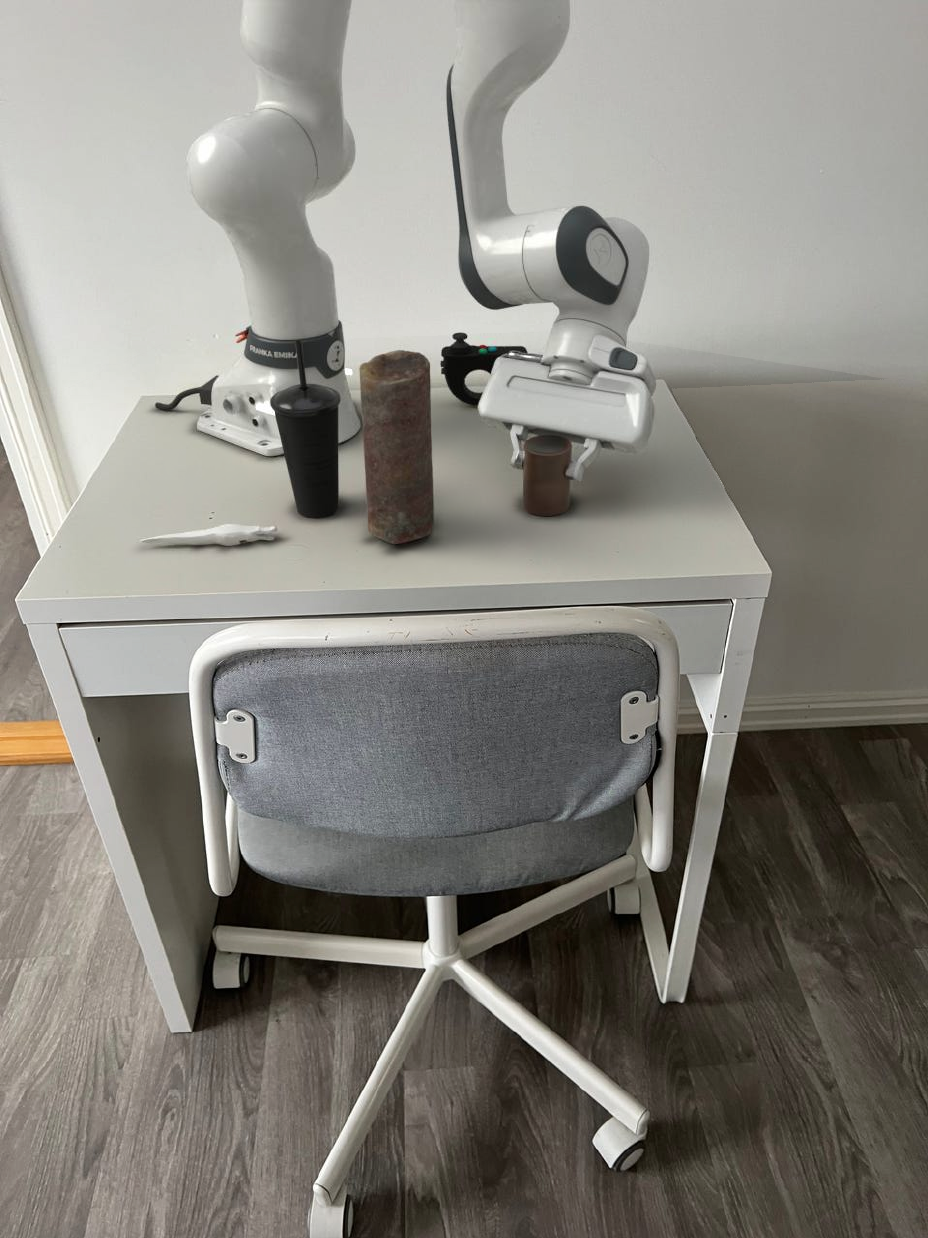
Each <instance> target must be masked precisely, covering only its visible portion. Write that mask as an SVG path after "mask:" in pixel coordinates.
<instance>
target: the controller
mask: <svg viewBox="0 0 928 1238" xmlns="http://www.w3.org/2000/svg"><path fill="white" fill-rule="evenodd" d="M452 339H453V340H455V341H454V342H453V343H452V344H450V345H445V346H444V347H442V348H441V351H440V355H441V357H442V360H440V363H439V364H440V365H439V367H440V368H441V369H440V374H441V375H444V379H445V383H446V385H447V387H448V389H449V391H450V392H451V394H452V395H453V396H454V397H455V398H456V399H457V400H459V401H460V402H462V403H463V404H466V405H469V406H473V407H478V404H479V401H480V399H481V396H482V394H483V392H484V391H481V392H476V391H473V390H471V389H470V388H468V386H467V385H466V378H467V376H468V375H469V374H470V373H472V372H474V371H475V372H476V371H484V372H486V373H488V374H489V375H491V372H492V369H493V366H494V363H495V361H496V359H497V358H498V357H500V356H501V355H503V354H507V353H509V352H510V351H519V352H521V353H529V352H528V349H527V348H526V347H525V346H523V345H486V344H480V345H473V344H472V345H471V344H469V343H467V342H466V341H465V340H467V339H468V334H467V333H465V332H455V333H453V334H452ZM505 358H508V357H505Z"/></svg>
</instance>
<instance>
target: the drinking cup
mask: <svg viewBox="0 0 928 1238" xmlns="http://www.w3.org/2000/svg"><path fill="white" fill-rule="evenodd" d="M295 345H296V353H297V361H298V370H299V378H300V384H299V385H294V386H291V387H289V388H286V389H284V390H282V391H279V392H277V393H276V394H274V395H273V396H272V397H271V399H270V406H271V408H272V410H273V411H274V413H275V417H276V422H277V426H278V430H279V434H280V439H281V443H282V447H283V451H284V454H283V456H284V459H285V460H284V461H285V463H286V469H287V472H288V477H289V481H290V485H291V489H292V494H293V497H294V501H295V506H296V510H297V513H298V514H299V515H300V516H302V517H303V518H307V519H322V518H326V517H330V516H332V515H334V514H335V513H337V512H338V510H339V506H340V505H339V503H340V501H339V500H340V499H339V498H340V497H339V491H340V489H339V486H340V485H339V481H340V479H339V478H340V477H339V476H340V475H339V473H340V472H339V469H340V468H339V463H340V462H339V444H338V405H339V404H340V401H341V398H340V394H339V393H338V392H337V391H336V390H334V389H332V388H329V387H326V386H321V385H317V384H307V383H306V375H305V366H304V358H303V349H302V341H301V340H296V341H295Z"/></svg>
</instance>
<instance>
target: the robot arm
mask: <svg viewBox="0 0 928 1238" xmlns="http://www.w3.org/2000/svg"><path fill="white" fill-rule="evenodd" d="M352 1H353V0H242V5H241V15H240V24H239V26H240V27H239V39H240V43H241V46H242V48H243V51H244V52H245V54H246V55H247V56H248V57H249V58H250V60H251V61H252V62H253V66H254V67H253V68H254V70H255V71H254V72H255V78H256V87H257V88H256V89H257V99H256V104H255V106H254V109H253V110H252V111H250V112H246V113H242V114H239V115H234V116H231V117H228V118H224V119H222V120H220V121H218V122H217V123H216V124H214V125H212V126H211V127H210V128H208V129H207V130H205V132H203V133H202V134H201V135H200V136H198V137H197V138H196V139H195V140H194V141H193V143H192V144H191V146H190V147H189V150H188V153H187V156H186V161H185V175H186V180H187V184H188V188H189V191H190V193H191V195H192V197H193V199H194V201H195V202H196V204H197V205H198V207H199V208H200V210H202V211H203V212H204V213H205V215H207V216H208V217H209V218H210V219H212V220H214V221H215V222H216V223H217V224H218V225H219V226H220V227H221V228H222V229H223V231H224V233H225V235H226V236H227V238H228V240H229V242H230V244H231V247H232V248H233V251H234V252H235V255H236V257H237V260H238V263H239V266H240V269H241V274H242V278H243V283H244V289H245V294H246V301H247V307H248V313H249V320H250V324H249V326H246V327H245V329H244V330H242V331H240V332H238V333H237V334H235V337H238V338H237V339H236V340H235V343H236V344H239V343H241V342H244V341H245V340H246V341H245V346H244V350H243V354H242V355H240V357H238V358H237V359H236V360H235V361H234V362H233V363H232V364H231V365H229V366H228V367H227V368H226V369H225V370H224V371H222V372H221V373H220V374H218V375H215V376H213V377H212V378H211V379H209V380H208V381H207V382H205V383H204V384H202V385H201V386H198V387H193V388H189V389H186V390H183V391H181V392H179V393H178V394H177V395H176V396H175V398H174V399H173V400H172V401H171V402H170V403H169V404H167V403H162V402H155V404H154V407H155V409H157V410H158V409H159V410H162V411H171V410H174V409H175V408H177V407H178V405H179V404H180V403H181V401H182V400H184V399H186V398H187V397H189V396H193V395H196V394H198V395H199V401H200V405H204V406H205V405H207V406H211V407H210V408H208V409H206V410H205V411H204V412H203V413H202V414H201V415H200V416H199V417H198V419H197V421H196V427H197V430H198V431H200V432H202V433H204V434H207V435H210V436H212V437H215V438H218V439H220V440H222V441H226V442H228V443H229V444H230V443H231V444H233V445H236V446H237V447H238V446H239V447H241V448H244V449H247V450H249V451H251V452H254V453H257V454H259V455H262V456H264V457H265V456H266V457H274V456H275V457H276V456H280V455H284V451H283V447H282V443H281V439H280V434H279V430H278V426H277V422H276V417H275V413H274V411H273V410H272V408H271V406H270V399H271V397H272V396H273V395H274V394H276V393H277V392H279V391H282V390H284V389H286V388H289V387H291V386H294V385H299V384H300V378H299V370H298V361H297V353H296V345H295V341H296V340H301V341H302V349H303V358H304V366H305V375H306V383H307V384H317V385H321V386H326V387H329V388H332V389H334V390H336V391H337V392H338V393H339V394H340V398H341V401H340V404H339V405H338V445H339V444H341V443H344V442H345V441H347V440H349V439H351V438H353V437H354V436H355V435H356V434H357V433H358V432H359V430H360V428H361V426H362V425H361V424H362V423H361V420H360V418H359V416H358V413H357V411H356V408H355V405H354V401H353V398H352V395H351V394H352V393H351V391H350V387H349V383H348V379H347V376H348V375H350V376H352V375H353V369H351V368H346V367H345V363H346V348H345V347H346V345H345V336H344V329H343V323H342V321H341V319H339V312H338V311H339V310H338V301H337V300H338V299H337V290H336V289H337V288H336V280H335V268H334V263H333V260H332V259H331V257H330V255H329V254H328V253H327V252H326V251H325V250H324V249H322V248H321V247H319V246H318V245H317V243H316V241H315V239H314V237H313V234H312V231H311V229H310V225H309V223H308V218H307V213H306V208H307V207H306V205H308V204H310V203H313V202H315V201H317V200H320V199H322V198H325V197H326V196H328V195H330V194H331V193H332V192H333V191H334V190H336V188H337V187H339V186H340V184H341V183H342V182H343V181H344V180H345V179H346V178H347V177H348V176H349V174H350V172H351V171H352V169H353V167H354V164H355V160H356V141H355V136H354V133H353V130H352V128H351V126H350V124H349V122H348V121H347V119H346V118H345V111H344V99H343V97H344V96H343V64H344V63H343V61H344V53H345V47H346V42H347V41H346V40H347V33H348V27H349V21H350V15H351V9H352ZM452 3H453V8H454V17H455V31H456V32H455V33H456V38H455V39H456V40H455V43H456V44H455V54H454V61H453V63H452V65H451V66H450V69H449V70H448V74H447V78H446V87H445V88H446V89H445V90H446V91H445V92H446V94H445V95H446V100H445V101H446V115H447V116H446V117H447V127H448V136H449V144H450V145H449V146H450V153H451V161H452V162H451V163H452V170H453V180H454V189H455V196H456V197H455V198H456V207H457V215H458V228H459V230H458V231H459V232H458V254H457V255H458V256H457V259H458V269H459V270H458V271H459V274H460V278H461V280H462V283H463V285H464V286H465V289H466V290H467V292H468V293H469V294H470V296H471V297H472V298H473V299H474V300H475V301H476V302H477V303H478V304H479V305H481V306H482V307H484V308H485V309H489V310H492V311H499V310H504V309H509V308H515V307H520V306H523V305H532V304H533V305H535V304H548V303H549V304H550V303H552V304H553V305H554V306H556V307H557V308H558V312H559V313H558V315H557V316H556V318H555V319H554V321H553V323H552V326H551V329H550V332H549V335H548V339H547V341H546V345H545V348H544V351H543V354H540V353H539V354H538V353H533V352H532V353H531V352H530V353H529V352H528V353H521V352H519V351H510V352H509V353H507V354H503V355H501V356H500V357H498V358H497V359H496V361H495V363H494V366H493V369H492V372H491V374H490V378H489V379H488V381H487V383H486V385H485V387H484V389H483V391H482V392H483V394H482V396H481V399H480V401H479V404H478V406H477V412H478V415H479V416H480V418H481V420H482V421H483V422H484V424H486V425H487V426H488V427H491V428H495V429H501V430H505V431H510V432H509V435H510V439H511V442H512V448H513V452H512V456H511V459H510V466H511V467H512V468H513V469H516V470H520V471H523V456H524V446H523V443H522V442H524V443H525V441H526V440H528V439H529V435H533V436H540V435H555V436H560V437H563V438H565V439H567V440H569V441H570V442H571V443H574V444H580V445H583V448H584V449H585V451H584V452H583V453H582V454H581V455H580V457H578V459H576V460H572V459H571V460H570V461H569V463H568V468H567V469H566V473H565V476H566V477H567V479H570V481H575V482H582V478H583V477H584V476H583V475H584V473H585V469H586V468H588V467H589V466H590V465H591V464H592V463H593V462H594V461H596V460H597V459H598V458H599V456H600V453H601V450H602V449H604V450H605V449H606V450H611V451H618V452H621V453H627V454H632V455H639V454H640V453H642V452H643V451H644V450H645V449H647V448H648V445H649V441H650V439H651V434H652V431H653V425H654V419H655V404H654V400H653V397H652V396H653V395H654V394H655V391H656V388H657V379H656V375H655V372H654V370H653V367H652V365H651V364H650V362H649V360H648V359H647V358H646V357H645V356H644V355H643V354H640V353H638V352H636V351H634V350H632V349H631V348H629V347H627V344H628V331H629V328H630V326H631V324H632V322H633V321H634V319H635V318H636V316H637V312H638V310H639V308H640V304H641V301H642V298H643V293H644V290H645V286H646V281H647V276H648V270H649V263H650V244H649V241H648V238H647V236H646V235H645V234H644V233H643V231H642V230H641V229H640V228H639V227H637V225H635V224H634V223H632V222H630V221H628V220H626V219H623V218H620V217H614V216H613V217H612V216H607V217H602V215H600V214H599V213H598V212H597V211H596V210H595V209H594V208H592V207H590V206H586V205H568V206H559V207H553V208H546V209H542V210H540V211H539V210H538V211H533V212H524V213H517V214H516V213H514V212H513V211H512V209H511V207H510V206H509V203H508V191H507V179H506V168H505V158H504V157H505V156H504V146H503V129H504V126H505V125H504V124H505V121H506V117H507V116H508V113H509V111H510V110H511V108H512V106H513V105H514V104H515V102H516V101H517V100H518V99H519V98H520V97H521V96H522V94H524V93H525V92H526V91H527V90H529V88H530V87H531V86H533V85H534V84H535V83H536V82H538V81H539V80H540V79H541V78H542V77H543V76H544V75H545V74H546V73H547V72H548V70H549V69H550V68H551V66H552V65H553V64H554V63H555V61H556V60H557V58H558V56H559V55H560V53H561V51H562V49H563V47H564V46H565V42H566V41H567V40H566V39H567V38H568V34H569V31H570V26H571V25H570V23H571V2H570V0H452ZM505 357H508V358H505Z"/></svg>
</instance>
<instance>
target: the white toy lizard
mask: <svg viewBox="0 0 928 1238" xmlns="http://www.w3.org/2000/svg"><path fill="white" fill-rule="evenodd" d="M277 530H278V527H277V526H276V525H273V526H272V525H271V526H262V525H244V524H238V523H225V524H221V525H217V526H215V527H210V528H207V529H206V528H205V529H199V530H198V529H197V530H192V531H184V532H177V533H170V534H169V533H168V534H163V535H157V536H153V537H147V538H143V539H141V540H140V542H141V543H144V544H151V545H163V546H164V545H166V546H167V545H189V546H202V545H213V544H217V545H221V546H225V547H232V546H237V545H242V544H245V543H252V542H256V541H259V540H260V541H261V540H263V541H264V540H265V541H274V540H275V538H274V537H273V536H272V535H269V534H272V533H275V532H277Z"/></svg>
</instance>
